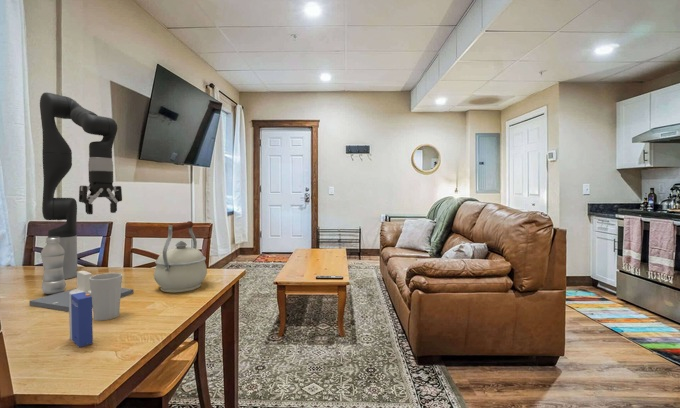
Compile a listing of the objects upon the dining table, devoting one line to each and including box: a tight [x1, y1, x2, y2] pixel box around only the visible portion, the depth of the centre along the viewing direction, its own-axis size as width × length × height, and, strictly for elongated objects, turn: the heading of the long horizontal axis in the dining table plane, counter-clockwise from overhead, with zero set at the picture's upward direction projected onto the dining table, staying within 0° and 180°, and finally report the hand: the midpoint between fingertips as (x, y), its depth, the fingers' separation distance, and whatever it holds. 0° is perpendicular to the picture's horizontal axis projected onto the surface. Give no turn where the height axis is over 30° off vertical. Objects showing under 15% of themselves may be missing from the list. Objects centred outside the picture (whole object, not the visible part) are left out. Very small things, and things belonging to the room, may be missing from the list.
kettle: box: [153, 220, 208, 294], centre depth 130 cm, size 25×18×25 cm
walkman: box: [68, 291, 94, 348], centre depth 83 cm, size 8×3×12 cm, turn 52°
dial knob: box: [69, 270, 93, 296], centre depth 112 cm, size 12×8×8 cm, turn 55°
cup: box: [89, 272, 123, 321], centre depth 99 cm, size 8×8×12 cm
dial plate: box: [29, 287, 135, 313], centre depth 114 cm, size 20×20×2 cm
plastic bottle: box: [40, 236, 67, 295], centre depth 119 cm, size 6×7×20 cm
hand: (101, 213), depth 126 cm, fingers open, 8 cm apart
